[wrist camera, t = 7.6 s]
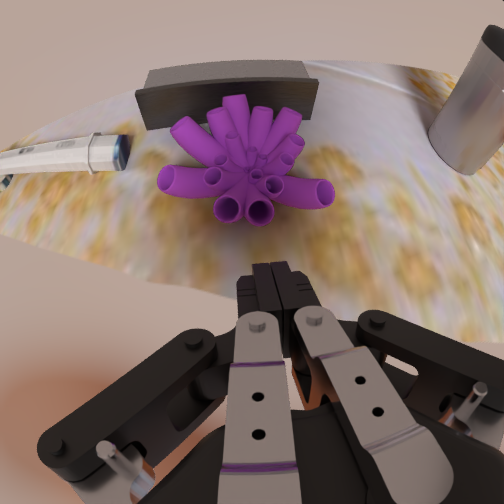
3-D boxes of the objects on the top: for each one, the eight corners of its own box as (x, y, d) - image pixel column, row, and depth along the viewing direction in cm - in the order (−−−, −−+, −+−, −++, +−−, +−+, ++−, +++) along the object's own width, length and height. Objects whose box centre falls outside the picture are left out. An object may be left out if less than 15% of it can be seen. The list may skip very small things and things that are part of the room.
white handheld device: (113, 158, 23) (-42, 173, 19) (127, 196, 29) (-19, 198, 25) (127, 120, 25) (-26, 141, 21) (136, 159, 31) (-6, 168, 27)
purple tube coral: (233, 264, 27) (150, 236, 20) (224, 145, 32) (164, 103, 25) (347, 224, 21) (289, 163, 14) (306, 100, 27) (255, 38, 19)
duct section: (300, 91, 32) (306, 57, 27) (310, 119, 30) (319, 82, 25) (153, 101, 31) (144, 67, 26) (146, 130, 29) (134, 94, 24)
